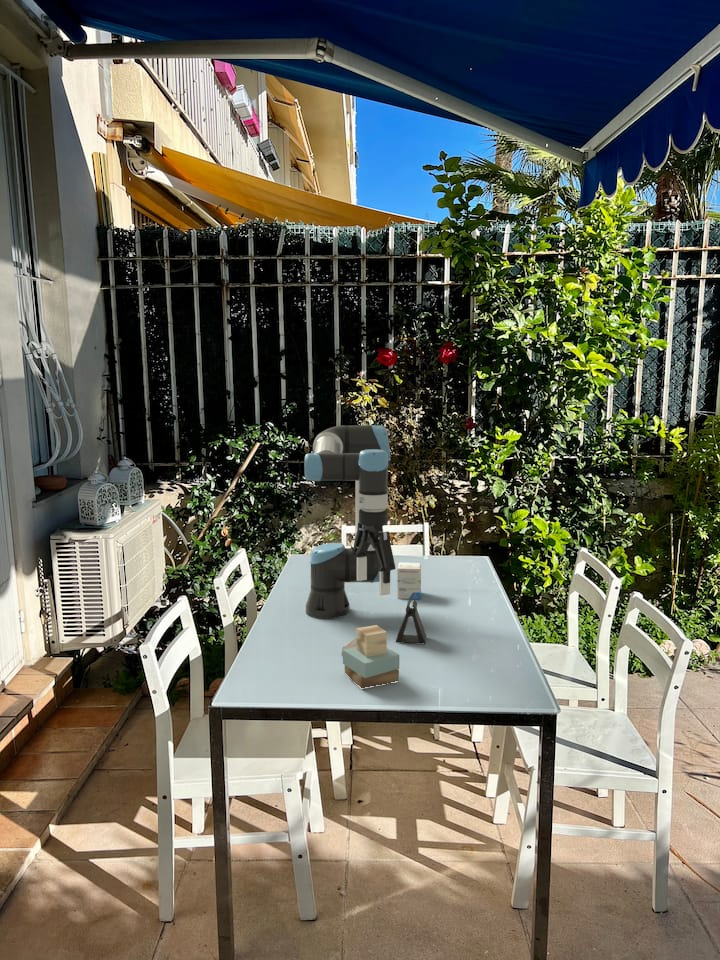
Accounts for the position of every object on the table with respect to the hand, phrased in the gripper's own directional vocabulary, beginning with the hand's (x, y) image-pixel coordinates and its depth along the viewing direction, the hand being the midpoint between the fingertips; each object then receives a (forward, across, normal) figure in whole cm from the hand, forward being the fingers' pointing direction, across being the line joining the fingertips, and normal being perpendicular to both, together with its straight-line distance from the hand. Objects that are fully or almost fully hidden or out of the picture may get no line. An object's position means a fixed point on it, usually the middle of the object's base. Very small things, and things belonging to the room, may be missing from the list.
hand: (372, 587), depth 190 cm
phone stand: (+26, -19, +23) cm, 39 cm away
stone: (+26, -16, +5) cm, 31 cm away
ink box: (+26, -57, +44) cm, 76 cm away
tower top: (+22, +1, -1) cm, 22 cm away
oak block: (+18, 0, 0) cm, 18 cm away
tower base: (+26, +1, -1) cm, 26 cm away
